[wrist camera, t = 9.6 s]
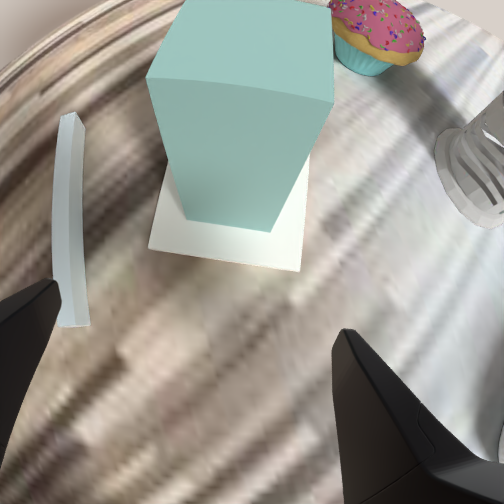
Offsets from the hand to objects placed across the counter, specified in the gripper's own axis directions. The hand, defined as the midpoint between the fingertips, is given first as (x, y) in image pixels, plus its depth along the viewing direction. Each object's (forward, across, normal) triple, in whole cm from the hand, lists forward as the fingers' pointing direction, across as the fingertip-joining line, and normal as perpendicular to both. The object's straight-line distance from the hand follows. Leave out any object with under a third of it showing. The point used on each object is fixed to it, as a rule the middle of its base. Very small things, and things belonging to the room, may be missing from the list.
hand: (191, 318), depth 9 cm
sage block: (+12, 0, 0) cm, 12 cm away
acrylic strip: (+10, +10, +3) cm, 14 cm away
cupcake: (+23, -9, -11) cm, 27 cm away
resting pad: (+12, 0, 0) cm, 12 cm away
